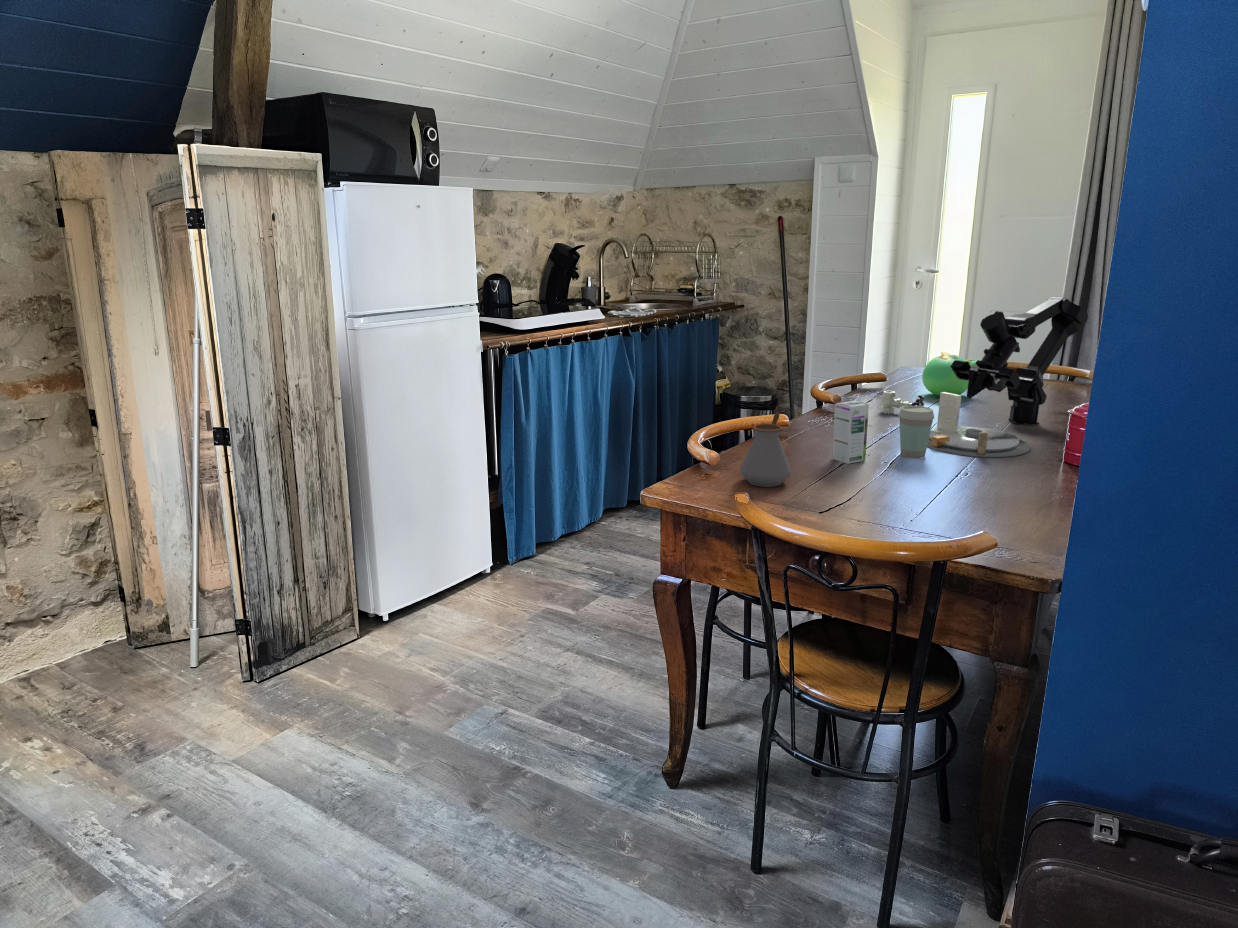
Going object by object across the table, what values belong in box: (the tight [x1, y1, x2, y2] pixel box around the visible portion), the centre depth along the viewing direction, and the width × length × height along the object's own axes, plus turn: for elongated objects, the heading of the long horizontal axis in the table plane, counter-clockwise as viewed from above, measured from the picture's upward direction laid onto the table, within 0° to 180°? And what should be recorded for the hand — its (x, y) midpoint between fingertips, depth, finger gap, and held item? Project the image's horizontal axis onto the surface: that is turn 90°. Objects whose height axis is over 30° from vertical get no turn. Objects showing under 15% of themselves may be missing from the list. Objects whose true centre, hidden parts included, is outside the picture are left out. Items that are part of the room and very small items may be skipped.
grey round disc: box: [927, 438, 1031, 459], centre depth 219 cm, size 28×28×1 cm
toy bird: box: [921, 351, 982, 397], centre depth 277 cm, size 18×17×15 cm
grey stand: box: [929, 392, 1020, 452], centre depth 217 cm, size 22×24×11 cm
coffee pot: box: [739, 404, 792, 488], centre depth 191 cm, size 21×12×15 cm, turn 158°
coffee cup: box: [897, 406, 935, 459], centre depth 207 cm, size 8×8×12 cm
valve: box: [880, 390, 925, 415], centre depth 253 cm, size 7×7×12 cm
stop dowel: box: [977, 432, 988, 456], centre depth 207 cm, size 2×2×6 cm
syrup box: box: [832, 400, 870, 465], centre depth 203 cm, size 6×6×14 cm
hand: (968, 397), depth 225 cm, fingers closed
